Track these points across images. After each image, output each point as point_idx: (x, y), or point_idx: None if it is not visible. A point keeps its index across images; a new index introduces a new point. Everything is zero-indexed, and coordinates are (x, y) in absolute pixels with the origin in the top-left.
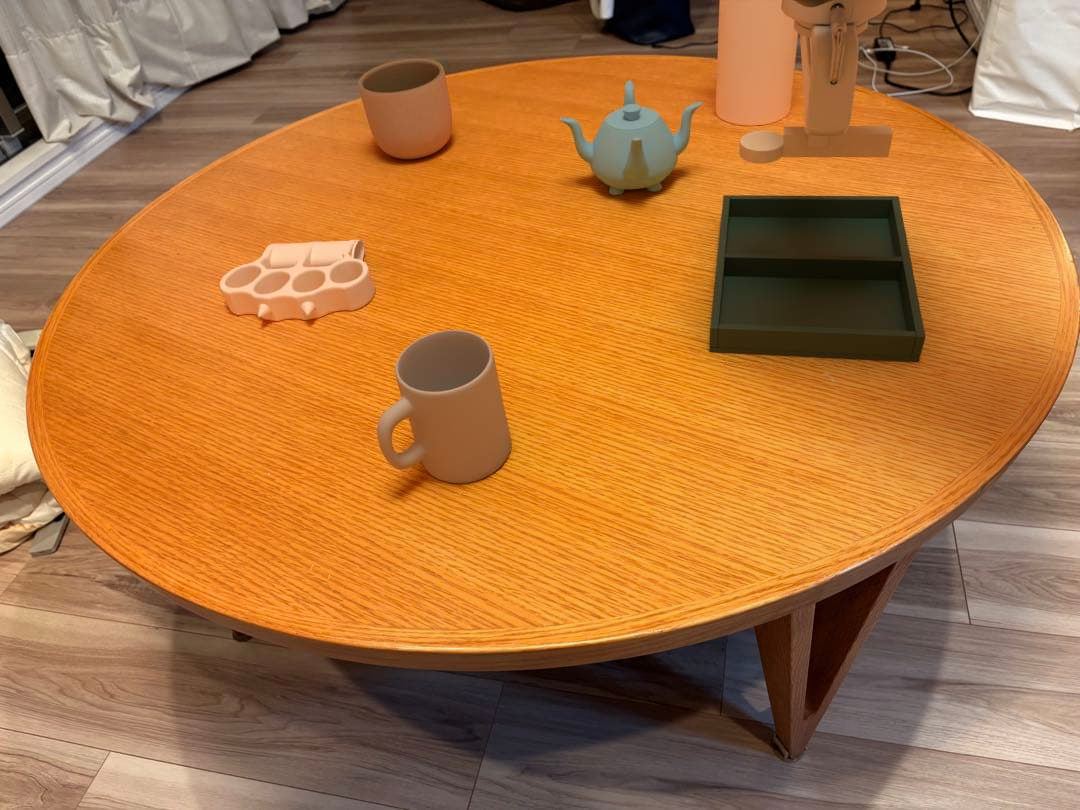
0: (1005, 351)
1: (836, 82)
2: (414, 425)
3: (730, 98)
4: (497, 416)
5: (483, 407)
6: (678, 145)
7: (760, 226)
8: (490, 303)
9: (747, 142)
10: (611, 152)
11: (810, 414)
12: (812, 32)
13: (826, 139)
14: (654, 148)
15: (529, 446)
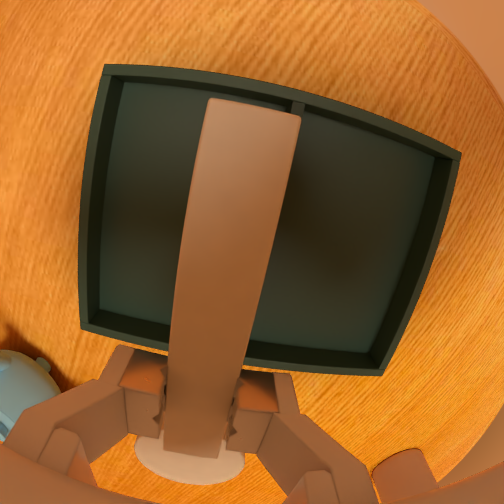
0: (431, 58)
1: (70, 477)
2: None
3: None
4: (427, 474)
5: (437, 486)
6: (4, 365)
7: (123, 274)
8: (248, 482)
9: (196, 478)
10: None
11: (467, 277)
12: None
13: (292, 390)
14: (29, 404)
15: (410, 442)
